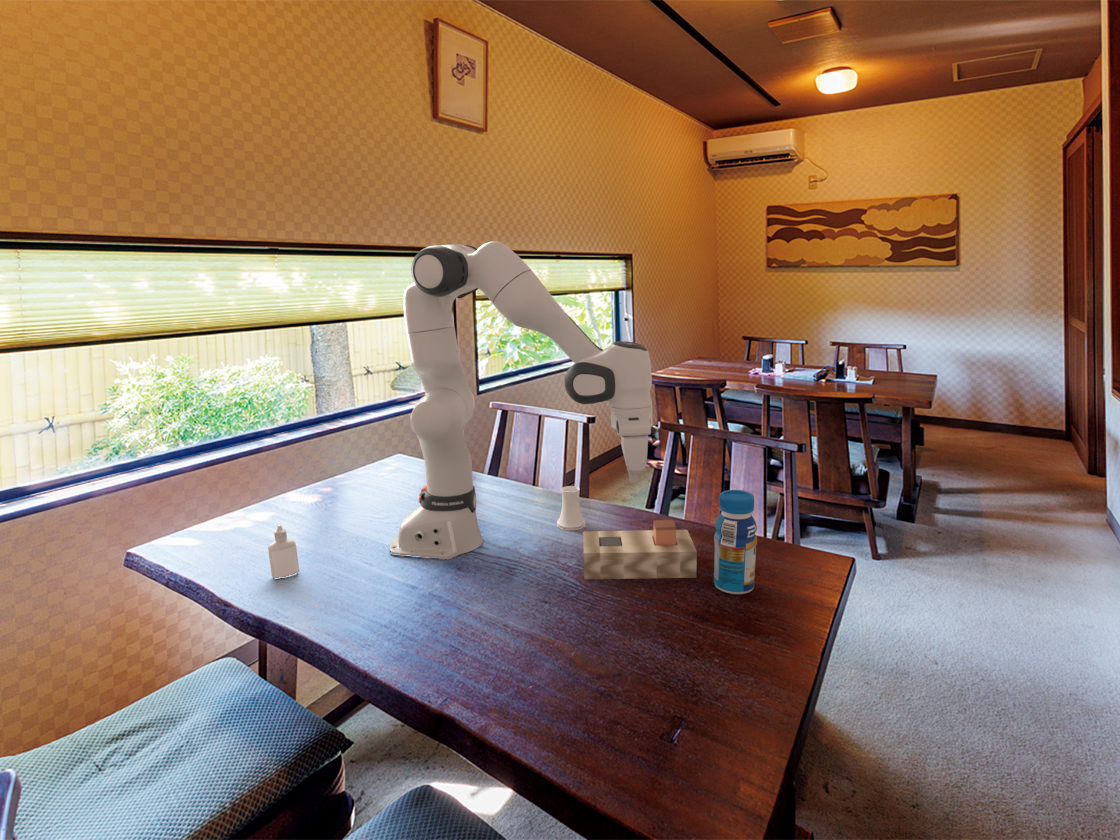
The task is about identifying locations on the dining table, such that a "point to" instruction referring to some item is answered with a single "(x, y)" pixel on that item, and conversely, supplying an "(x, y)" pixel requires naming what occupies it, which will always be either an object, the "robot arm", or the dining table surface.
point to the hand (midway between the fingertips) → (633, 480)
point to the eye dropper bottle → (283, 555)
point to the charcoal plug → (610, 541)
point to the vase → (570, 510)
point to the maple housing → (638, 556)
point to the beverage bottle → (735, 543)
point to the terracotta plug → (664, 532)
